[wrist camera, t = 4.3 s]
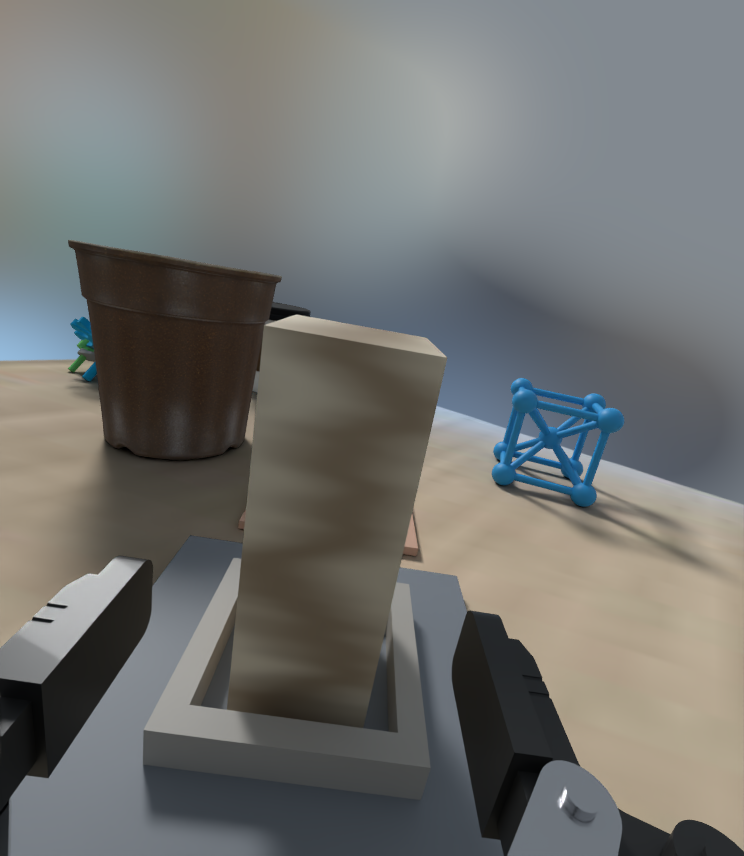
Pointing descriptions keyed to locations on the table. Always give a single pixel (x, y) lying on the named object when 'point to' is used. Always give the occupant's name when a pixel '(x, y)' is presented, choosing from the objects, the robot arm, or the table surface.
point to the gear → (84, 347)
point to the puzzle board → (261, 743)
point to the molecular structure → (555, 439)
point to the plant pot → (173, 348)
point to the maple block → (327, 513)
